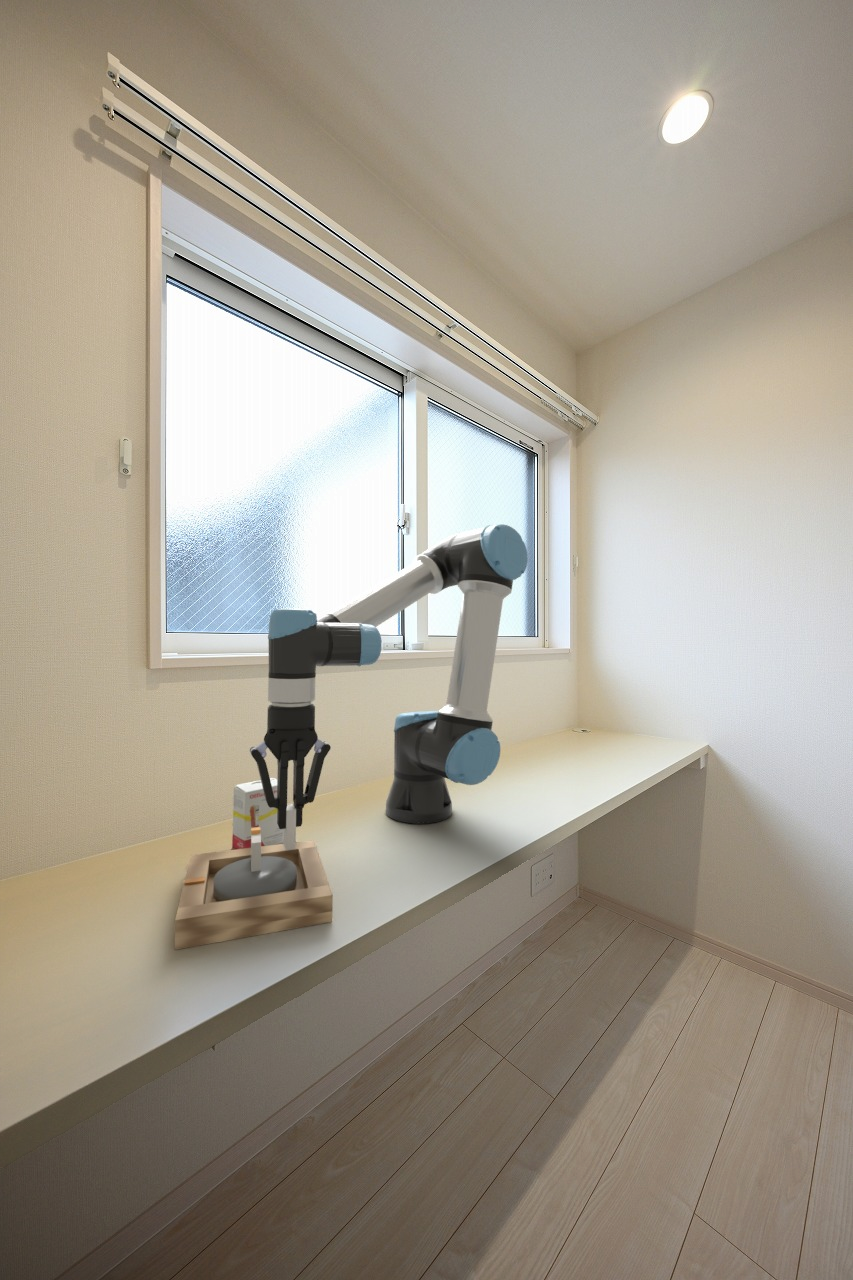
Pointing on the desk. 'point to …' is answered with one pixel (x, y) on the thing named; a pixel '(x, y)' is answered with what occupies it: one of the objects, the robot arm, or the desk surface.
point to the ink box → (254, 815)
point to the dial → (254, 875)
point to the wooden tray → (251, 899)
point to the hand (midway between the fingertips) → (289, 846)
